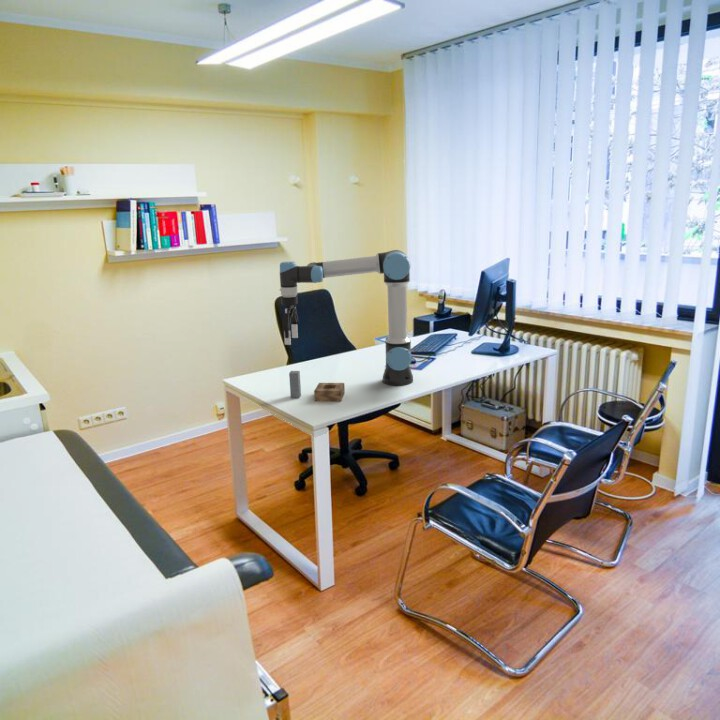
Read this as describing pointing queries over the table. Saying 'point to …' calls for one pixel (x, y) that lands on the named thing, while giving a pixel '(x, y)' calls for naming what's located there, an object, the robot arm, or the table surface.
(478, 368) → the table surface
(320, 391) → the brown square hole block
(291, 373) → the metal peg
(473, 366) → the table surface
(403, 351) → the robot arm
